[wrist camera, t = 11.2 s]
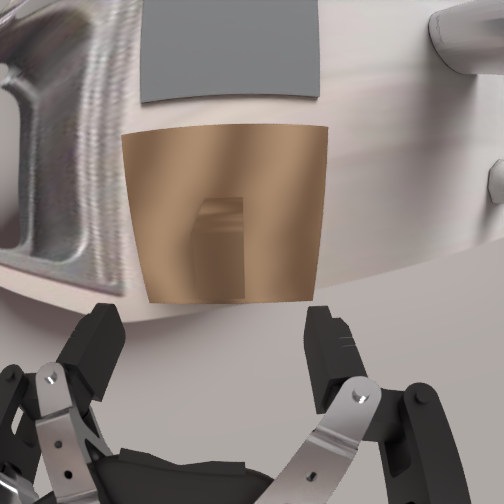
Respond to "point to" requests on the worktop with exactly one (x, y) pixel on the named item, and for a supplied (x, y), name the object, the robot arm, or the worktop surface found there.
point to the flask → (497, 182)
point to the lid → (227, 211)
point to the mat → (229, 48)
